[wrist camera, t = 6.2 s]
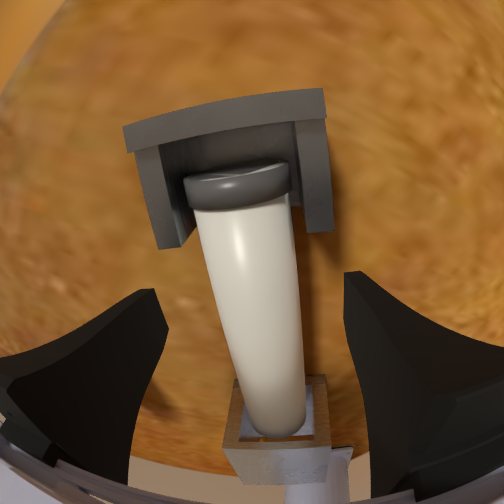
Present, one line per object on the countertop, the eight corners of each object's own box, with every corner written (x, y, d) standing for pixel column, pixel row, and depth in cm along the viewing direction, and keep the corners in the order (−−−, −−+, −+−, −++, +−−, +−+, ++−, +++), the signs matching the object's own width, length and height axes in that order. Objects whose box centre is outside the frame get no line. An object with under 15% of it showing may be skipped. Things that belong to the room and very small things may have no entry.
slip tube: (307, 392, 19) (309, 439, 15) (251, 394, 20) (245, 440, 16) (287, 155, 12) (290, 170, 9) (199, 168, 13) (167, 189, 9)
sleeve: (322, 425, 23) (325, 482, 17) (250, 429, 24) (243, 484, 18) (324, 374, 20) (331, 445, 14) (234, 379, 21) (221, 448, 15)
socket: (319, 198, 14) (337, 236, 10) (190, 214, 15) (153, 255, 11) (307, 100, 12) (322, 88, 8) (171, 123, 13) (122, 126, 9)
